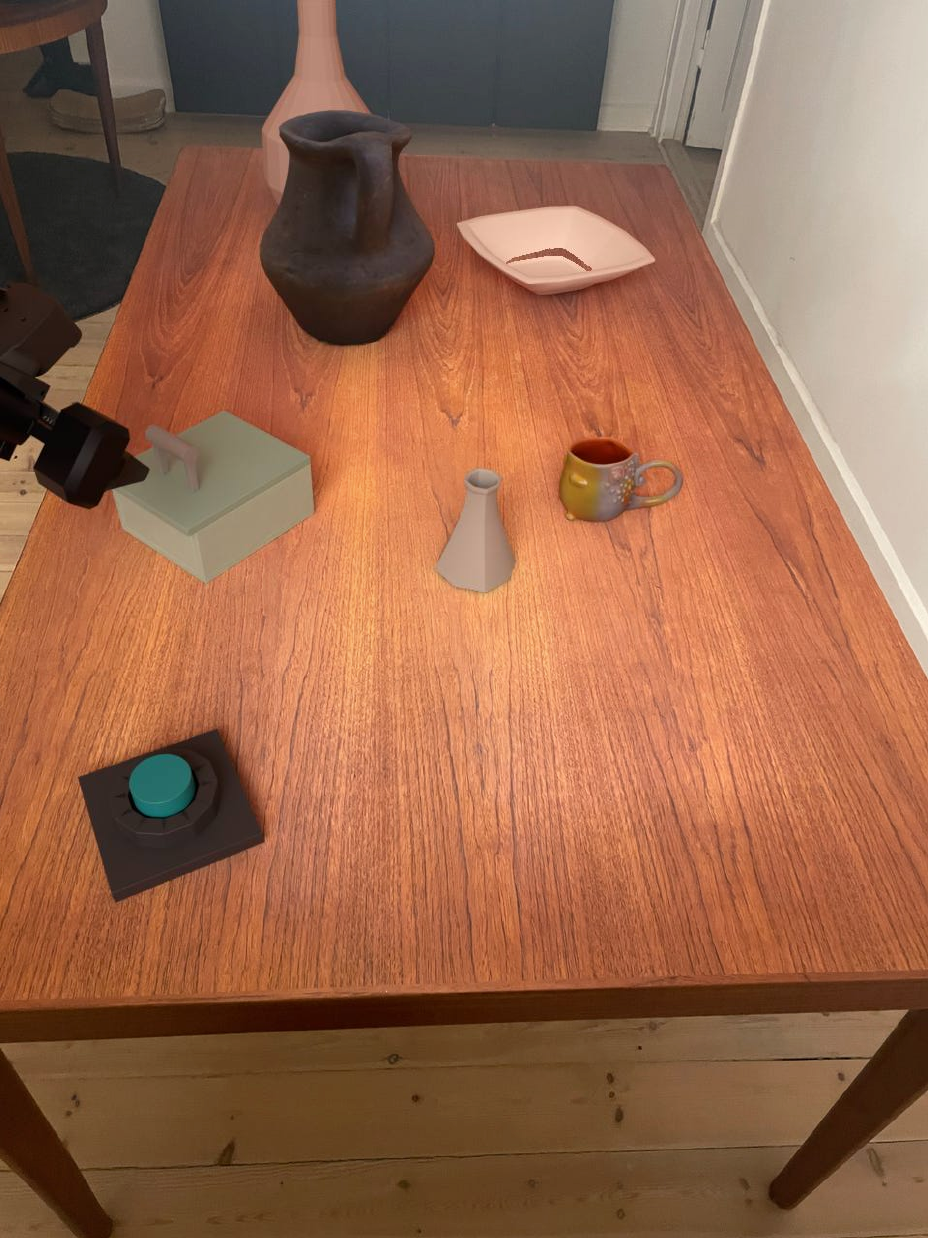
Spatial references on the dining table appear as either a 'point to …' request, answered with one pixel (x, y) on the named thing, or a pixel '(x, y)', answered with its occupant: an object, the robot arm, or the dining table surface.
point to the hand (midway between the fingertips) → (108, 451)
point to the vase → (308, 86)
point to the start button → (162, 785)
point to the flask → (478, 538)
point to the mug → (607, 480)
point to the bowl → (552, 229)
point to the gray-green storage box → (224, 527)
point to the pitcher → (345, 227)
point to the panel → (169, 819)
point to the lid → (209, 470)
